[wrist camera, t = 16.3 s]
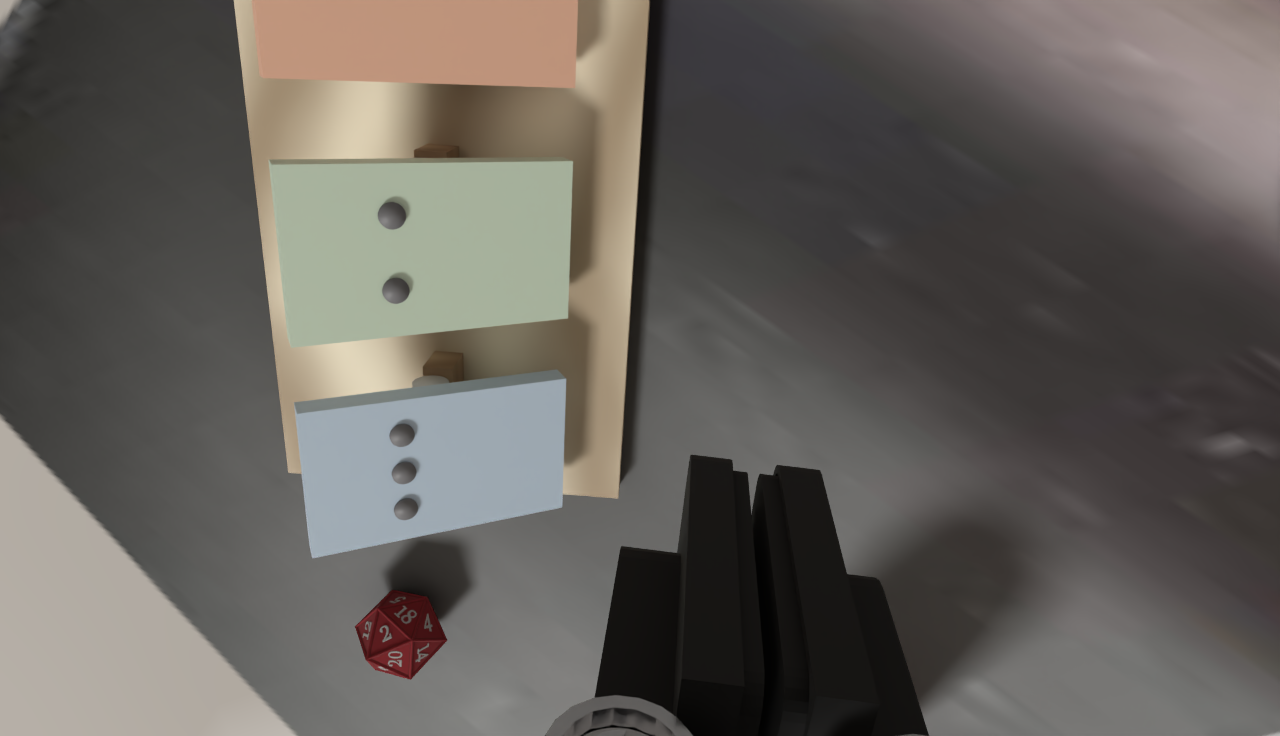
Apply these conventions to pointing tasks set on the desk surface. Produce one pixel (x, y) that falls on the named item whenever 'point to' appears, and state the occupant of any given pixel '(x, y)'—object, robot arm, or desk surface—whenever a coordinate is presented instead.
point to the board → (481, 128)
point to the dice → (400, 634)
